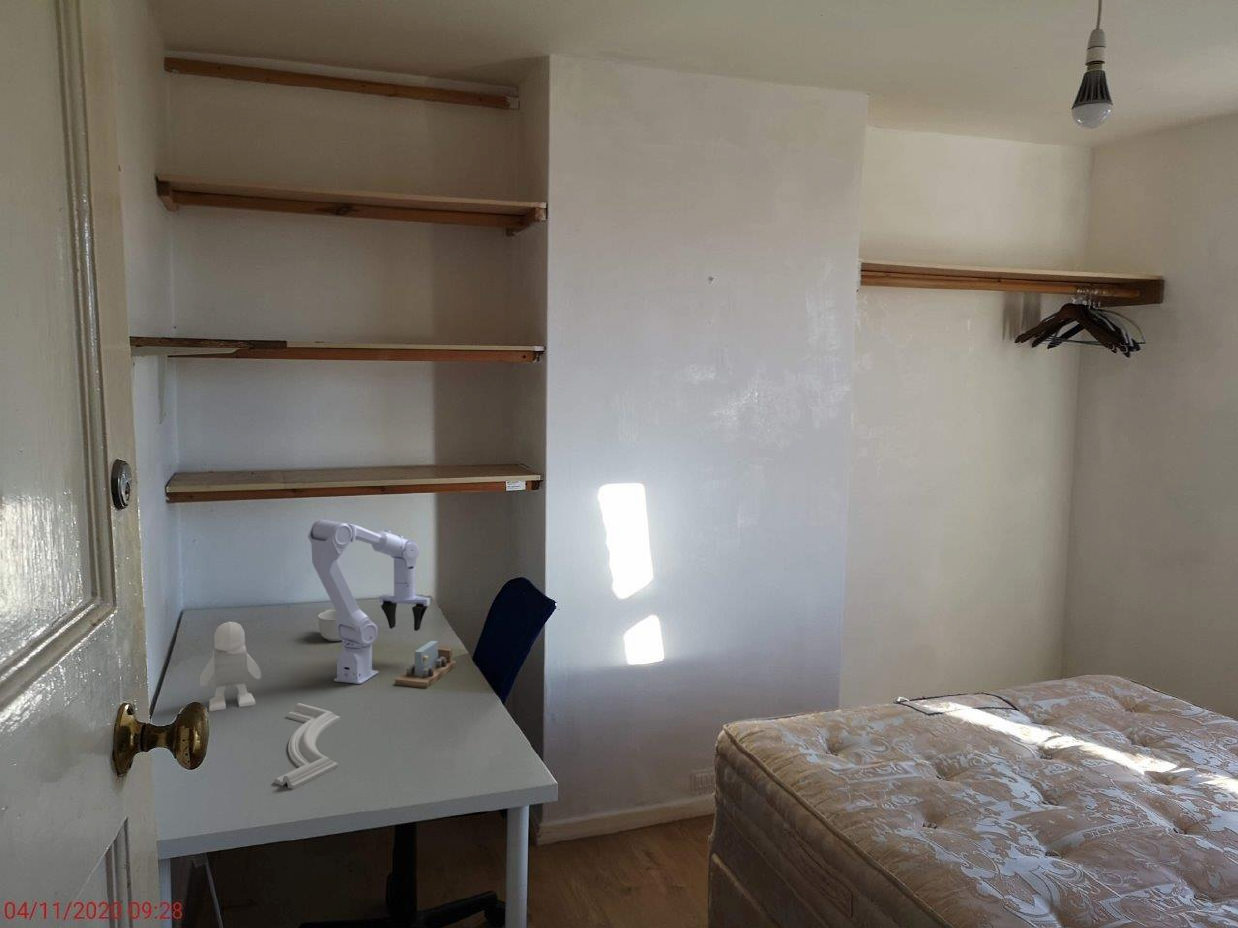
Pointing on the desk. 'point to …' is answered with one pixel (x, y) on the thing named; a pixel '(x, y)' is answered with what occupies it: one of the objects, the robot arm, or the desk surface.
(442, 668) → the knife switch board
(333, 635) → the teacup
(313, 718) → the molding
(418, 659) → the rectangular block
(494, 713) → the desk surface
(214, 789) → the desk surface
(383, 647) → the desk surface
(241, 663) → the toy robot
